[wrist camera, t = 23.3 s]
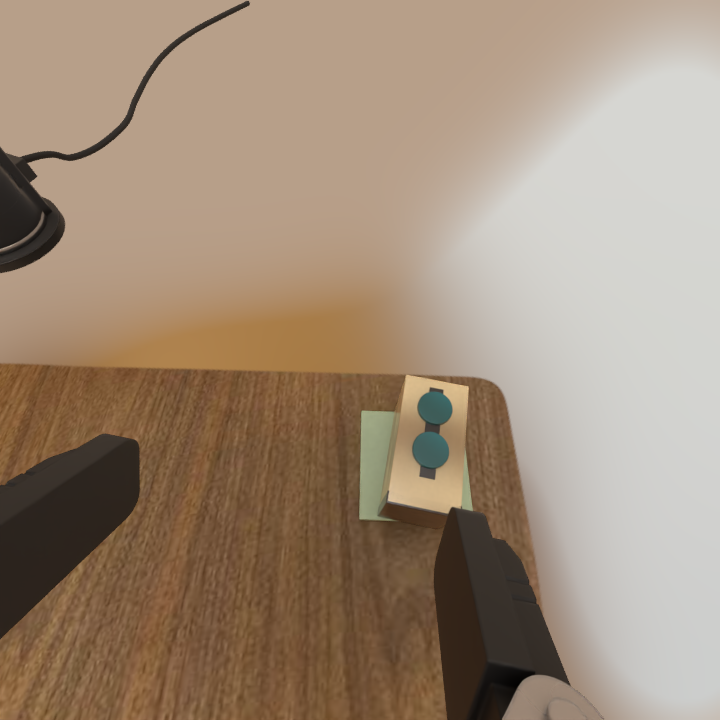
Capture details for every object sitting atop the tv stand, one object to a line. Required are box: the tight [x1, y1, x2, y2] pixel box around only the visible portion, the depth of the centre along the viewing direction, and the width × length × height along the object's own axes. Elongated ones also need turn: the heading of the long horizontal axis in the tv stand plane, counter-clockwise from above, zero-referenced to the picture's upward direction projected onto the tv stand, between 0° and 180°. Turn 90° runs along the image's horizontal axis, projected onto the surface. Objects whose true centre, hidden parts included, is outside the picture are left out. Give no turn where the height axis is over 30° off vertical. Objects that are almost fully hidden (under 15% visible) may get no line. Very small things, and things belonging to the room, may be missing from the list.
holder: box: [377, 375, 469, 529], centre depth 28 cm, size 9×5×7 cm, turn 169°
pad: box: [359, 411, 473, 521], centre depth 32 cm, size 9×9×1 cm
